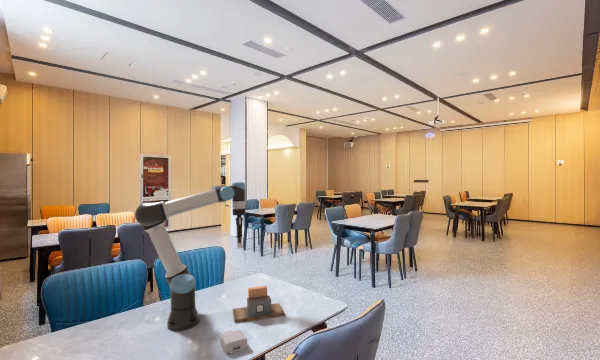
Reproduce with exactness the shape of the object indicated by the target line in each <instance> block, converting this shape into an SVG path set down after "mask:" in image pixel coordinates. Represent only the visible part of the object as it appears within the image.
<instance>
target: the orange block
mask: <svg viewBox="0 0 600 360" xmlns="http://www.w3.org/2000/svg"><path fill="white" fill-rule="evenodd" d="M261 296H268V287H267V285H264V286H263V285H261V286H254V287H253V286H252V287H248V288H247V298H252V297H261ZM256 311H257V312H260V311H263V305H256Z"/></svg>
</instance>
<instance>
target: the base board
mask: <svg viewBox="0 0 600 360" xmlns="http://www.w3.org/2000/svg"><path fill="white" fill-rule="evenodd" d="M232 314H233V321H234V323H237V324H238V323H244V322H250V321H257V320H264V319H271V318H279V317H284V316H285V312H284V310H283V308H282V306H281V304H280V302H277V303H271V315H267V316H259V317H252V318H248V314H247V306H246V307H237V308H236V307H235V308H232Z"/></svg>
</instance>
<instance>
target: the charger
mask: <svg viewBox="0 0 600 360" xmlns="http://www.w3.org/2000/svg"><path fill="white" fill-rule="evenodd" d="M219 339H220V343H219V344H220V345H221V347H222V349H223V350H224V352H225V354H226V355H228V354H227V353H230V354H232V353H231V352H233V353H236V352H235V351H237V352H239V350H240V351H242V350H243V351H244V350H246V349H247V348H248V339H247V337H246V336H245V335H244V333H243V332H242V331H241V330H239V329H238V330H226V331H224V332H223V333H222V334H220V337H219Z"/></svg>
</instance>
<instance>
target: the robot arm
mask: <svg viewBox="0 0 600 360" xmlns="http://www.w3.org/2000/svg"><path fill="white" fill-rule="evenodd" d="M231 184H232V185H213V186H211V188H210V189H209V190H206V191H203V192H199V193H198V192H197V193H195V194H191V195H188V196H184V197H181V198H180V197H179V198H177V199H173V200H169V201H162V200H161V201H157V202H155V201H150V200H148V201H144V202H141V203H140V204H139V205H138V207H137V208H136V209H135V213H134V217H135V220H136V222H137V223H138V224H139V225H140V226H141V228H142V231H143V232H146V233H148V235H149V237H150V240H151V243H152V244H153V247H154V248H155V250H156V252H157V255H158V257H159V258H160V262H161V264H162V265H163V268H164V271H165V274H164V277H165V280H166V282H167V284H168V286H169V288H170V312H169V316H168V318H167V322H166V324H167V325H166V327H167V329H169V330H171V331H186V330H189V329H192V328H193V327H196V326H197V325H198V324H199V322H200V316H199V313H198V310H197V307H196V279H195V276H193V274H191V273H190V271H189V268H188V266H187V265H186V264H183V263H182V261H181V259H180V256H179V255H178V252H177V250H176V247H175V246H174V243H173V241H172V238H171V237H170V235H169V232H168V230H167V227H166V226H165V223H166V222H167V220H169V218H170V217H174V216H177V215H181V214H183V213H187V212H190V211H193V210H197V209H200V208H205V207H207V206H210V205H215V204H218V203H221V202H224V201H226V202H227V201H230V200H232V201H231V202H232V215H233V216H236V217H235V224H236V225H235V226H236V236H235V238H236V249H242V248H243V237H244V236H243V222H244V218H243V217H242V216H245V215H246V210H247V209H246V204H247V201H246V183H245V182H243V181H240V182H239V181H238V182H236V181H235V182H232V183H231Z"/></svg>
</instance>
